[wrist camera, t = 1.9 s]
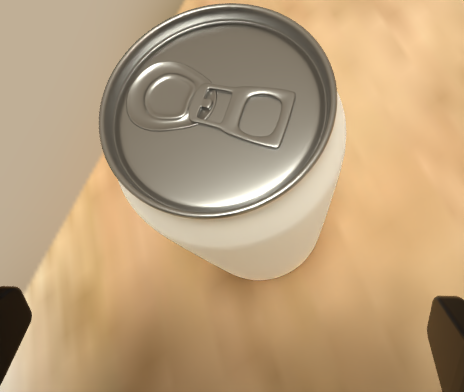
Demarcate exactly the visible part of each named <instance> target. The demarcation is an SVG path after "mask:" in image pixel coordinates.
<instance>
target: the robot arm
mask: <svg viewBox="0 0 464 392" xmlns="http://www.w3.org/2000/svg"><path fill="white" fill-rule="evenodd" d="M31 318H32V313H31V310H30V308H29V306H28V304H27V302H26V300H25V297H24V295H23V293H22V291H21V290H20V289H19V288H18V287H14V286H12V287H11V286H1V287H0V385H1V383H2V381H3V379H4V377H5V375H6V373H7V371H8V369H9V367H10V365H11V362H12V360H13V358H14V356H15V354H16V352H17V350H18V348H19V346H20V344H21V341H22V339H23V337H24V335H25V333H26V331H27V329H28V327H29V325H30V322H31ZM427 334H428V339H429V343H430V347H431V351H432V354H433V358H434V362H435V366H436V369H437V373H438V377H439V381H440V384H441V388H442V392H464V300H463V299H462V298H460V297H457V296H437V297H435V298H434V300H433V302H432V307H431V312H430V316H429V321H428V326H427Z"/></svg>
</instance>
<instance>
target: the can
mask: <svg viewBox="0 0 464 392" xmlns="http://www.w3.org/2000/svg"><path fill="white" fill-rule="evenodd" d="M99 134H100V141H101V145H102V149H103V152H104V155H105V158H106V160H107V162H108V164H109V166H110V168H111V170H112V172H113V173H114V175H115V176H116V178H117V179H118V181H119V184H120V186H121V189H122V191H123V193H124V195H125V197H126V198H127V200H128V202H129V203H130V205H131V206H132V207H133V209H134V210H135V211H136V212H137V213H138V215H139V216H140V217H141V218H142V219H143V220H144V221H145V222H146V223H148V224H149V225H150V226H151V227H152V228H153V229H155V230H156V231H158V232H159V233H160V234H162V235H163V236H165V237H166V238H168V239H170V240H171V241H173V242H175V243H176V244H178V245H180V246H181V247H183V248H185V249H187V250H188V251H190V252H192V253H194V254H195V255H197V256H199V257H201V258H203V259H204V260H206V261H208V262H210V263H212V264H214V265H215V266H217V267H219V268H221V269H223V270H225V271H227V272H229V273H231V274H233V275H235V276H238V277H241V278H244V279H249V280H269V279H274V278H278V277H281V276H283V275H285V274H287V273H289V272H291V271H293V270H294V269H296V268H297V267H298V266H299V265H301V264H302V263H303V262H304V261H305V260H306V259H307V257H308V256H309V255H310V253H311V252H312V250H313V248H314V247H315V245H316V242H317V240H318V237H319V235H320V232H321V229H322V226H323V223H324V220H325V218H326V215H327V212H328V209H329V206H330V203H331V199H332V196H333V193H334V190H335V187H336V184H337V181H338V177H339V174H340V171H341V166H342V162H343V158H344V153H345V145H346V121H345V114H344V109H343V106H342V102H341V99H340V97H339V94H338V92H337V87H336V81H335V76H334V73H333V70H332V67H331V64H330V62H329V60H328V58H327V56H326V54H325V52H324V51H323V49H322V48H321V46H320V45H319V43H318V42H317V41H316V40H315V39H314V37H313V36H312V35H311V34H310V33H309V32H308V31H307V30H305V29H304V28H303V27H302V26H301V25H299V24H298V23H296V22H295V21H293V20H292V19H290V18H288V17H286V16H284V15H282V14H280V13H278V12H275V11H273V10H270V9H267V8H263V7H259V6H254V5H248V4H236V3H227V4H215V5H208V6H203V7H199V8H195V9H191V10H188V11H185V12H183V13H180V14H178V15H175V16H173V17H171V18H169V19H167V20H165V21H164V22H162V23H160V24H158V25H157V26H155V27H154V28H152V29H151V30H150V31H148V32H147V33H146V34H144V35H143V36H142V37H141V38H140V39H139V40H138V41H136V42H135V44H133V45H132V46H131V47H130V49H129V50H128V51H127V52H126V53H125V55H124V56H123V57H122V58H121V60H120V61H119V63H118V64H117V65H116V67H115V69H114V70H113V72H112V74H111V76H110V78H109V80H108V83H107V85H106V87H105V90H104V93H103V97H102V101H101V105H100V112H99Z"/></svg>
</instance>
